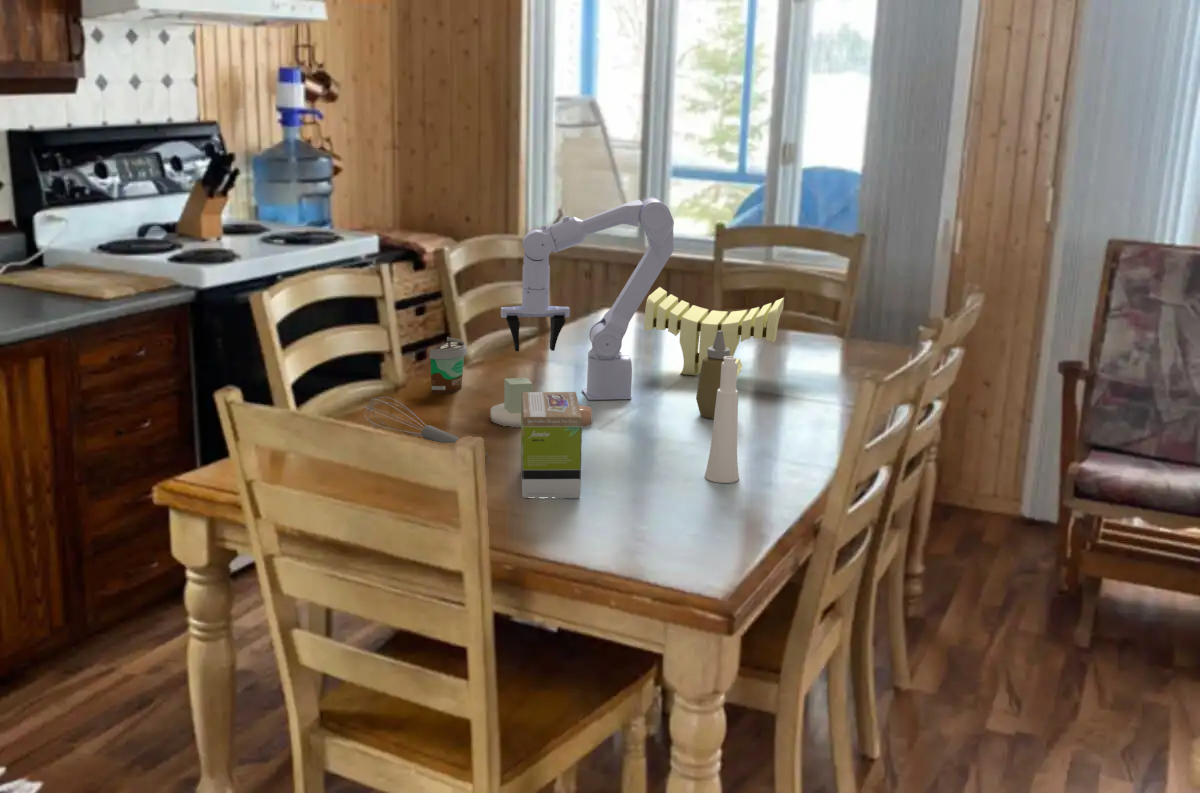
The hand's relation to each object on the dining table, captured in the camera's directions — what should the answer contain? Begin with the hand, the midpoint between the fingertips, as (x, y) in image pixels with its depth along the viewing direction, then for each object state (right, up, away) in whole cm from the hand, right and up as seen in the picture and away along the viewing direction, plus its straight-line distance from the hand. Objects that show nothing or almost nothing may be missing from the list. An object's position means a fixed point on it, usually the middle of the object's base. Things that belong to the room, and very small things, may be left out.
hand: (534, 349), depth 259 cm
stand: (-3, -15, -15) cm, 21 cm away
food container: (-18, -8, +5) cm, 21 cm away
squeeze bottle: (+38, -14, -8) cm, 41 cm away
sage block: (-3, -13, -16) cm, 20 cm away
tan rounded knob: (+10, -15, -16) cm, 24 cm away
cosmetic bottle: (+36, -25, -45) cm, 62 cm away
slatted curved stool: (+40, -4, +27) cm, 49 cm away
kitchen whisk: (-19, -19, -31) cm, 41 cm away
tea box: (+5, -25, -51) cm, 57 cm away
